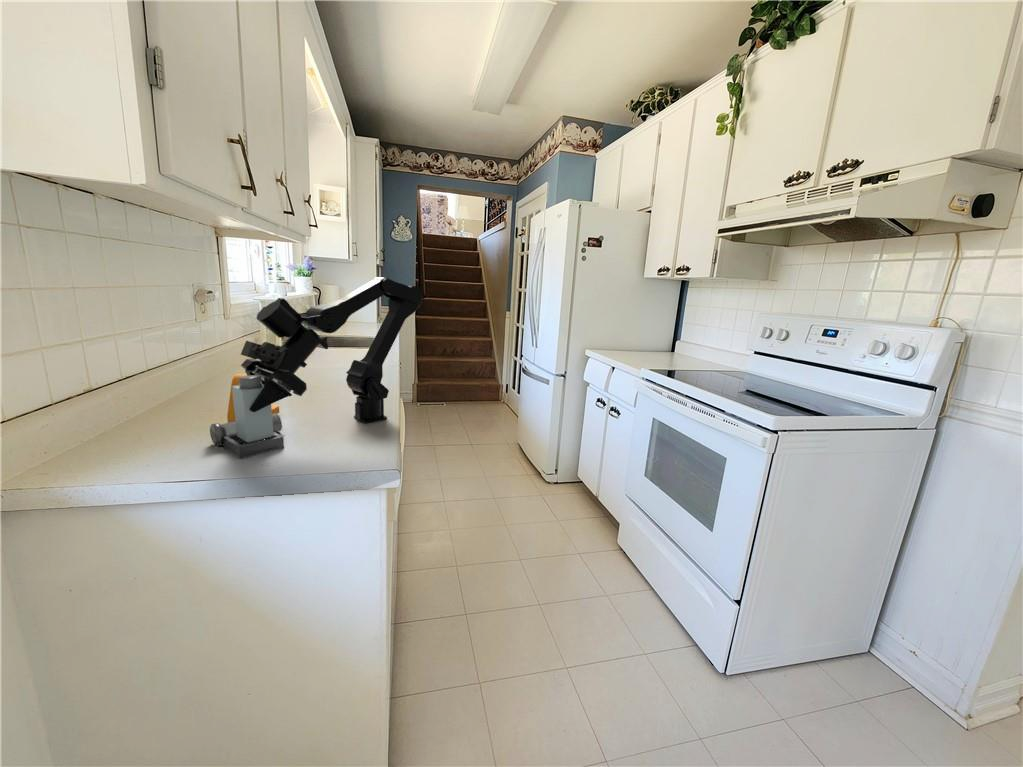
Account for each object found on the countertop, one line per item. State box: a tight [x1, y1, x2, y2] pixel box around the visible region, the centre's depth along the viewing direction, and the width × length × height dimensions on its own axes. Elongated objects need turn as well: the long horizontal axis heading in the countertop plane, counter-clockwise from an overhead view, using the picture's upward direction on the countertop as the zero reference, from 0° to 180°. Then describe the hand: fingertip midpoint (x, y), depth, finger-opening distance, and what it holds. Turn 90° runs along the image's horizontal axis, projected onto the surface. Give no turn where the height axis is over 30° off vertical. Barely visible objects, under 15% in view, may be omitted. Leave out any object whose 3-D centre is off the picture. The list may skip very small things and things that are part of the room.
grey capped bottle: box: [232, 375, 274, 443], centre depth 89 cm, size 5×5×13 cm
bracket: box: [226, 373, 280, 423], centre depth 106 cm, size 11×7×12 cm, turn 1°
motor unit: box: [209, 413, 285, 460], centre depth 93 cm, size 13×13×5 cm
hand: (245, 408), depth 88 cm, fingers closed on grey capped bottle, 5 cm apart
